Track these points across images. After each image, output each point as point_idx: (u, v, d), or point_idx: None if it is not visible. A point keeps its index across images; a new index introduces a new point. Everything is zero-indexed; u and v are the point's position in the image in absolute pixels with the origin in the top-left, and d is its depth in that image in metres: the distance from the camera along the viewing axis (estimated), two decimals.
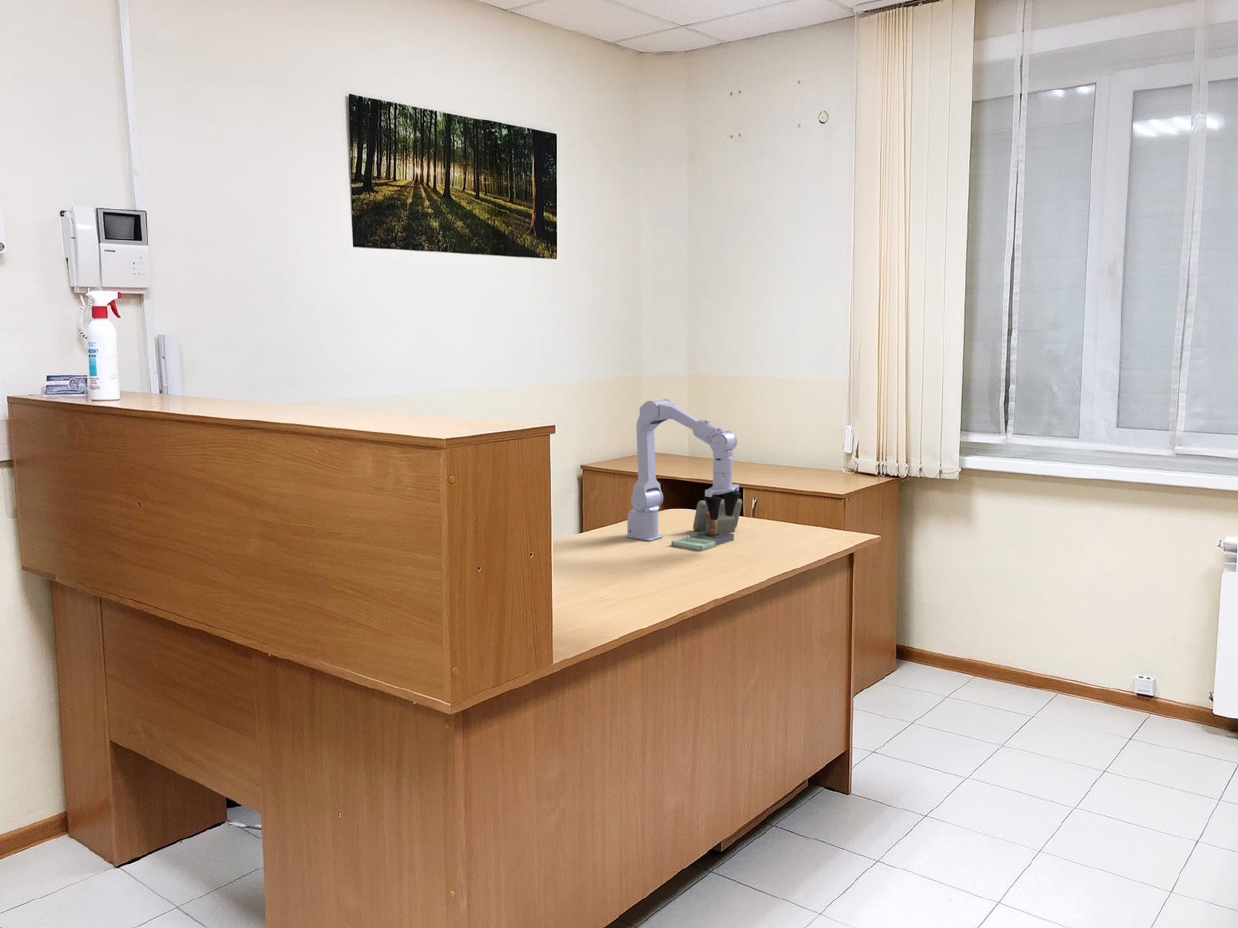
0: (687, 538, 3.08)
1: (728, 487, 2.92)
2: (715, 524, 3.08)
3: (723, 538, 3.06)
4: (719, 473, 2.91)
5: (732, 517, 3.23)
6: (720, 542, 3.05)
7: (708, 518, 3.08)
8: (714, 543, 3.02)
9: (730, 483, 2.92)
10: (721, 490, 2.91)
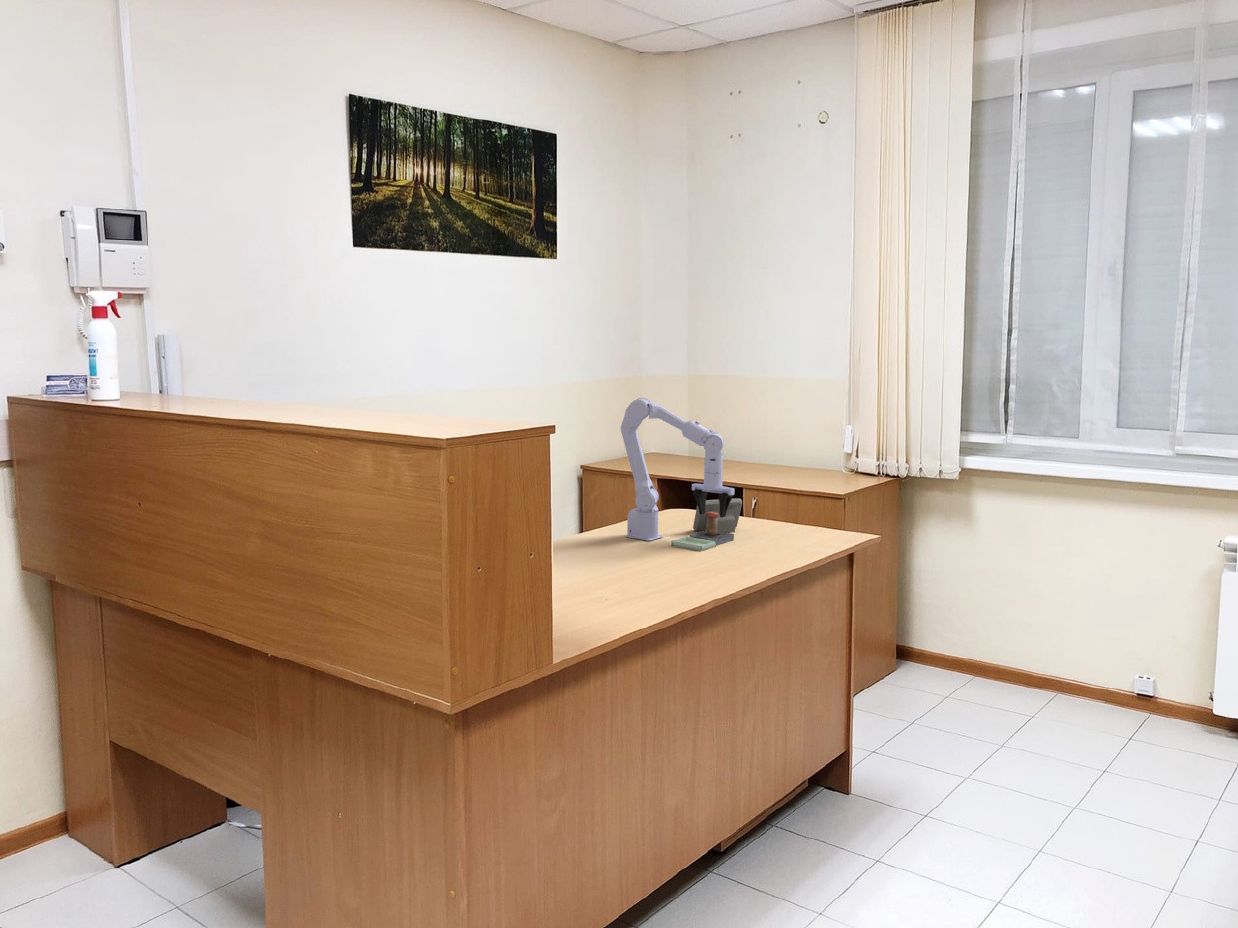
0: (687, 538, 3.08)
1: (706, 486, 3.06)
2: (715, 524, 3.08)
3: (723, 538, 3.06)
4: None
5: (732, 517, 3.23)
6: (720, 542, 3.05)
7: (708, 518, 3.08)
8: (714, 543, 3.02)
9: (708, 482, 3.05)
10: (700, 486, 3.08)
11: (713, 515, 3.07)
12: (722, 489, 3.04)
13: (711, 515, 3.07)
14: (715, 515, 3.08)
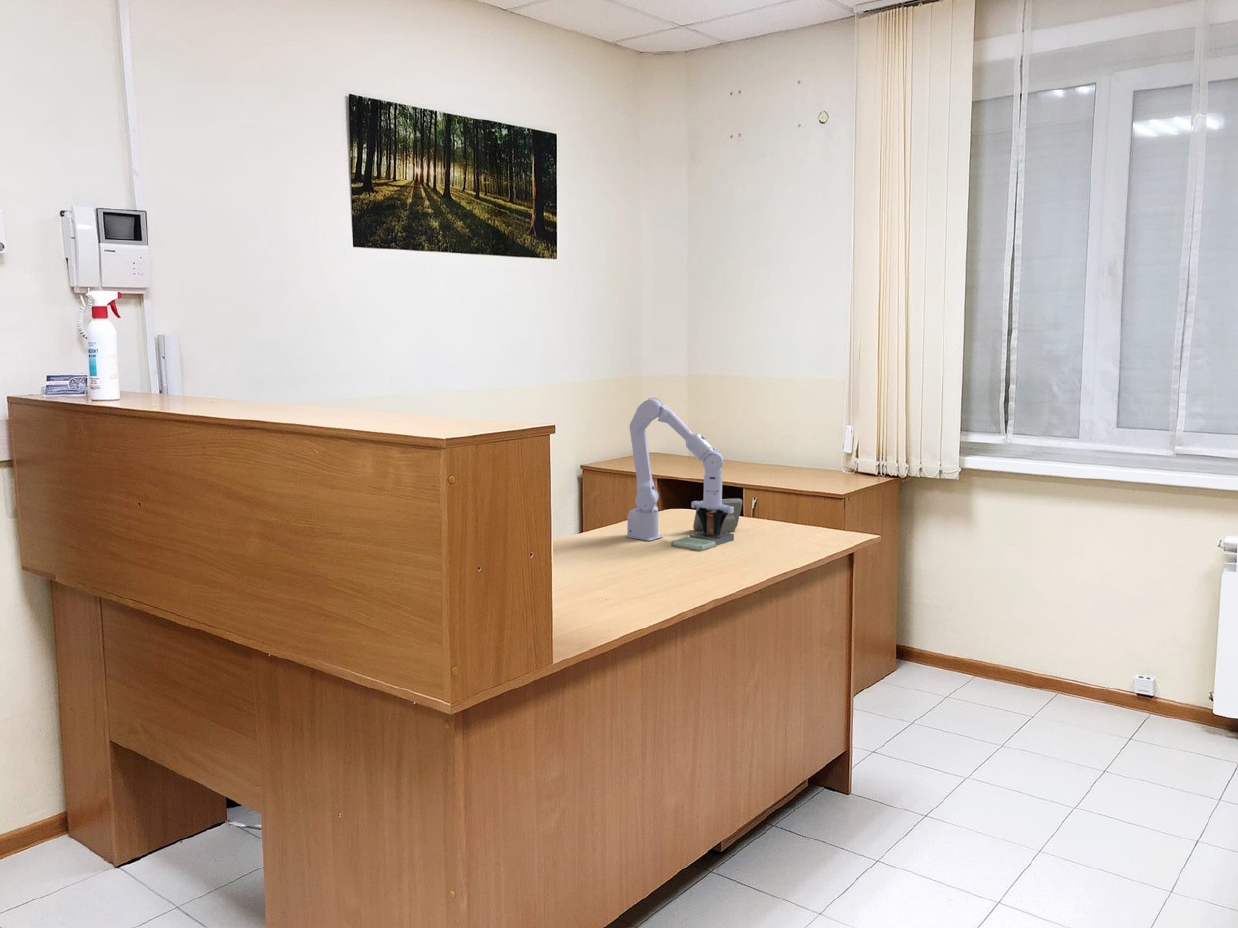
0: (687, 538, 3.08)
1: (705, 504, 3.07)
2: None
3: (723, 538, 3.06)
4: None
5: (732, 517, 3.23)
6: (720, 542, 3.05)
7: (708, 518, 3.08)
8: (714, 543, 3.02)
9: (707, 500, 3.06)
10: (700, 504, 3.09)
11: None
12: (721, 507, 3.05)
13: (711, 515, 3.07)
14: None
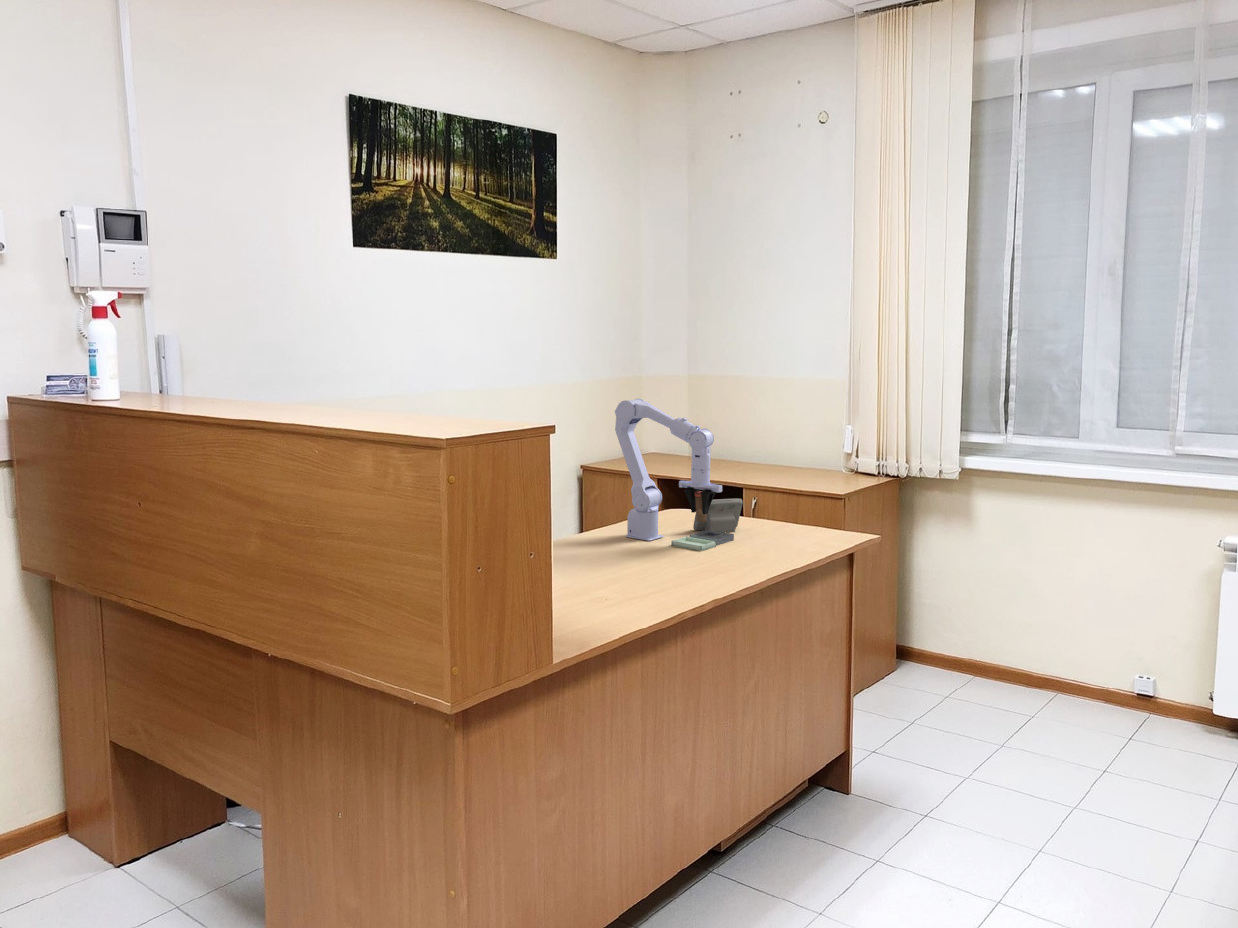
0: (687, 538, 3.08)
1: (693, 483, 3.01)
2: None
3: (723, 538, 3.06)
4: None
5: (732, 517, 3.23)
6: (720, 542, 3.05)
7: (696, 498, 3.02)
8: (714, 543, 3.02)
9: (695, 479, 3.00)
10: (687, 484, 3.03)
11: None
12: (710, 486, 2.98)
13: (699, 495, 3.01)
14: None
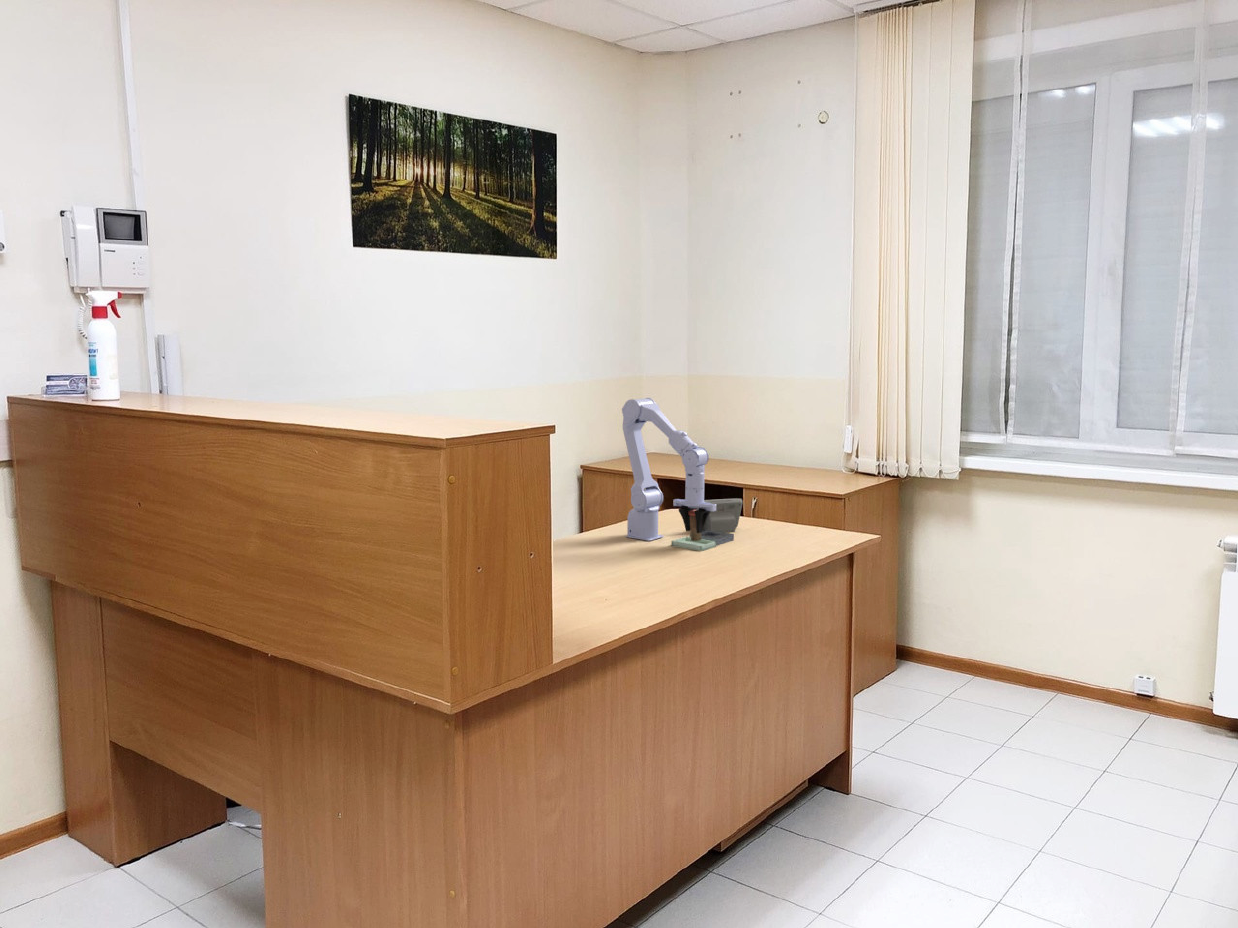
0: (687, 538, 3.08)
1: (687, 501, 2.99)
2: None
3: (723, 538, 3.06)
4: None
5: (732, 517, 3.23)
6: (720, 542, 3.05)
7: (691, 517, 3.01)
8: (714, 543, 3.02)
9: (689, 498, 2.98)
10: (681, 502, 3.01)
11: None
12: (704, 505, 2.97)
13: (693, 514, 2.99)
14: None
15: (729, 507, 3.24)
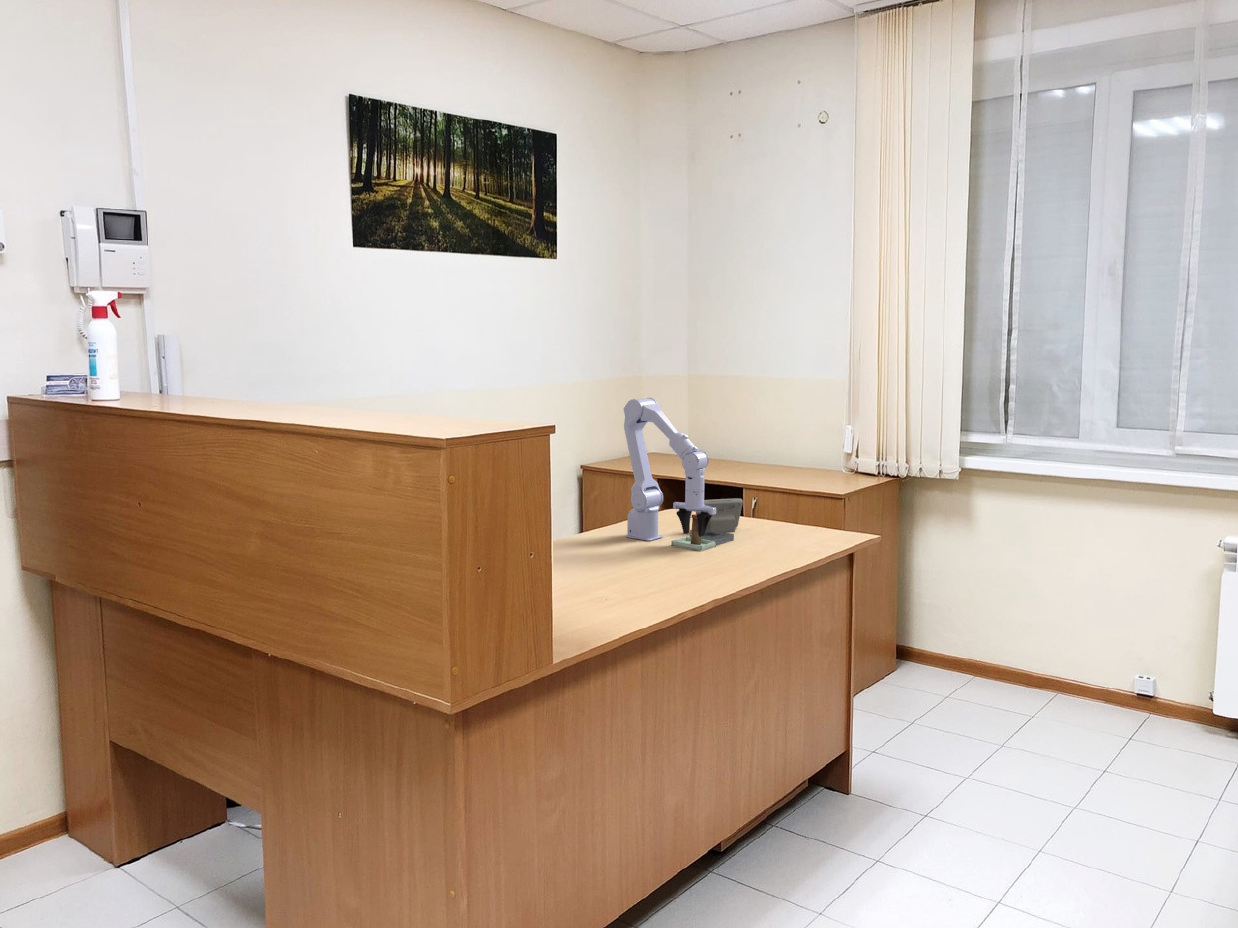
0: (687, 538, 3.08)
1: (687, 505, 2.99)
2: None
3: (723, 538, 3.06)
4: None
5: (732, 517, 3.23)
6: (720, 542, 3.05)
7: (693, 520, 3.01)
8: (714, 543, 3.02)
9: (689, 501, 2.98)
10: (681, 505, 3.01)
11: None
12: (703, 508, 2.97)
13: (696, 517, 3.00)
14: None
15: (729, 507, 3.24)
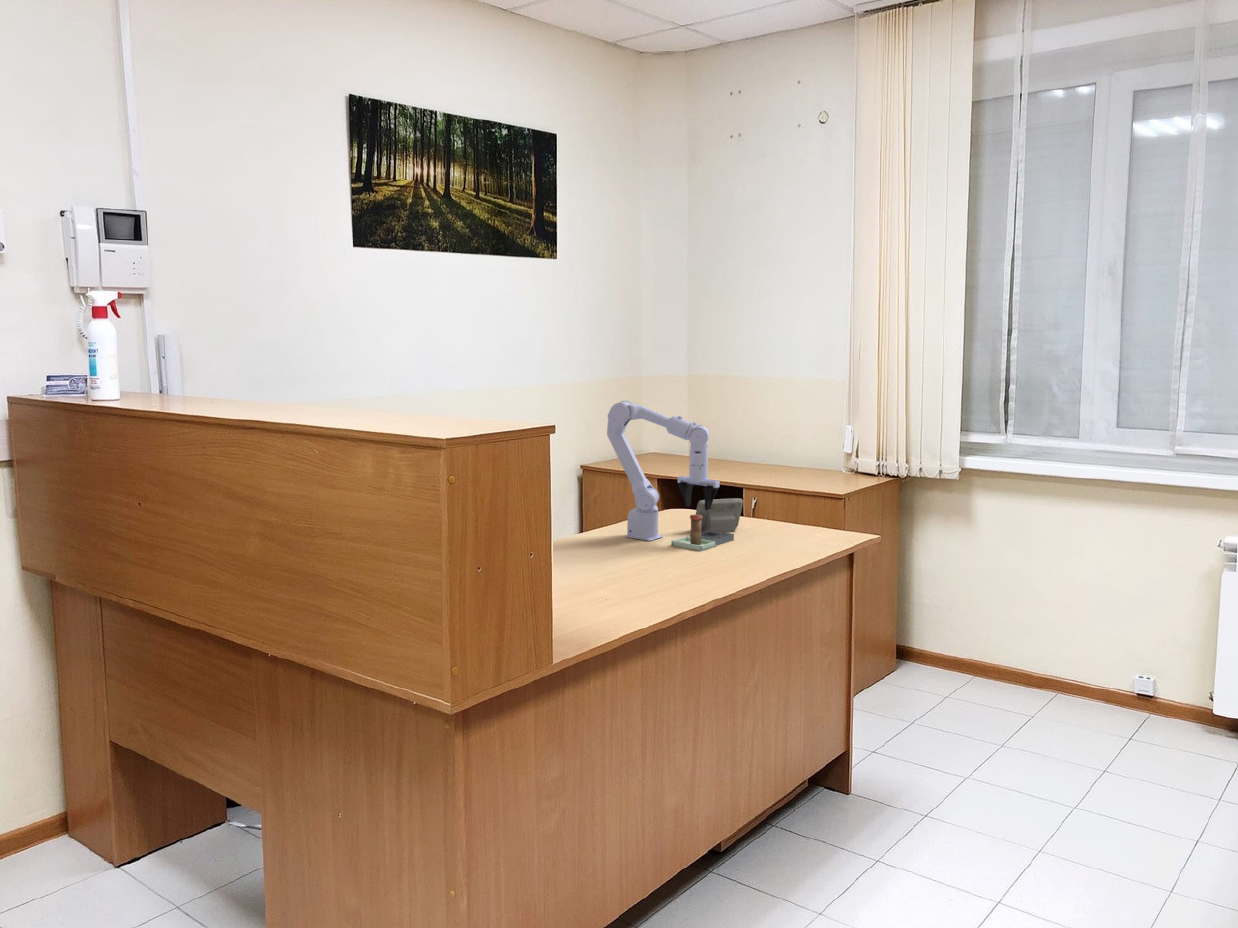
0: (687, 538, 3.08)
1: (691, 478, 3.06)
2: (700, 527, 3.01)
3: (723, 538, 3.06)
4: None
5: (732, 517, 3.23)
6: (720, 542, 3.05)
7: (692, 521, 3.01)
8: (714, 543, 3.02)
9: (693, 475, 3.05)
10: (686, 479, 3.08)
11: (697, 518, 3.00)
12: (707, 482, 3.04)
13: (695, 518, 3.00)
14: (699, 518, 3.00)
15: (729, 507, 3.24)
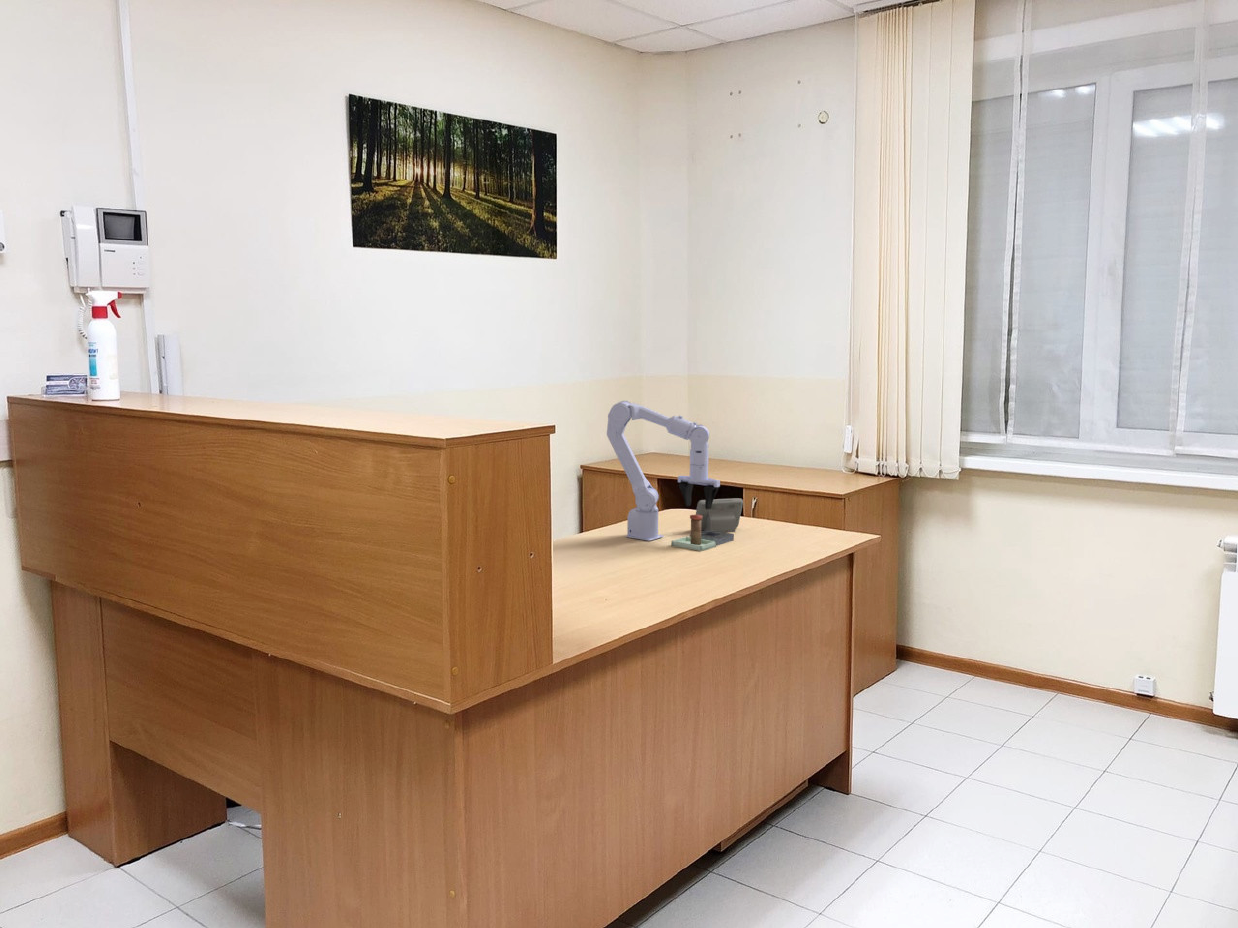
0: (687, 538, 3.08)
1: (691, 477, 3.07)
2: (699, 527, 3.01)
3: (723, 538, 3.06)
4: None
5: (733, 517, 3.24)
6: (720, 542, 3.05)
7: (692, 521, 3.01)
8: (714, 543, 3.02)
9: (694, 474, 3.06)
10: (686, 478, 3.09)
11: (697, 518, 3.00)
12: (708, 481, 3.05)
13: (695, 518, 3.00)
14: (699, 518, 3.00)
15: (729, 507, 3.24)
